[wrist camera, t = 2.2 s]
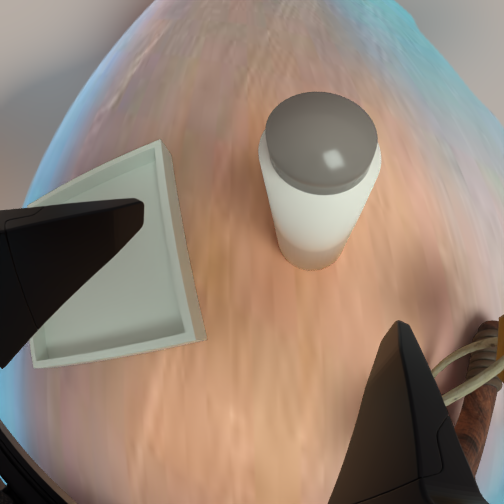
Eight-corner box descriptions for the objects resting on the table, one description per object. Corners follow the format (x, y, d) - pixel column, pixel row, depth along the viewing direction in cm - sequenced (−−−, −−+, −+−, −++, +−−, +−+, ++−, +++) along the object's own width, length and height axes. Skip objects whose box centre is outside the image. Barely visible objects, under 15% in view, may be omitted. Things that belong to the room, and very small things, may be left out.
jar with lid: (353, 259, 20) (410, 171, 9) (288, 279, 21) (276, 207, 9) (331, 199, 22) (353, 77, 10) (270, 217, 22) (240, 101, 11)
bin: (207, 339, 20) (195, 340, 18) (52, 367, 22) (33, 368, 19) (171, 154, 25) (160, 139, 23) (42, 214, 26) (27, 205, 24)
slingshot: (540, 356, 15) (495, 521, 8) (448, 358, 23) (395, 503, 17) (551, 223, 9) (493, 572, 2) (389, 250, 17) (283, 503, 10)
